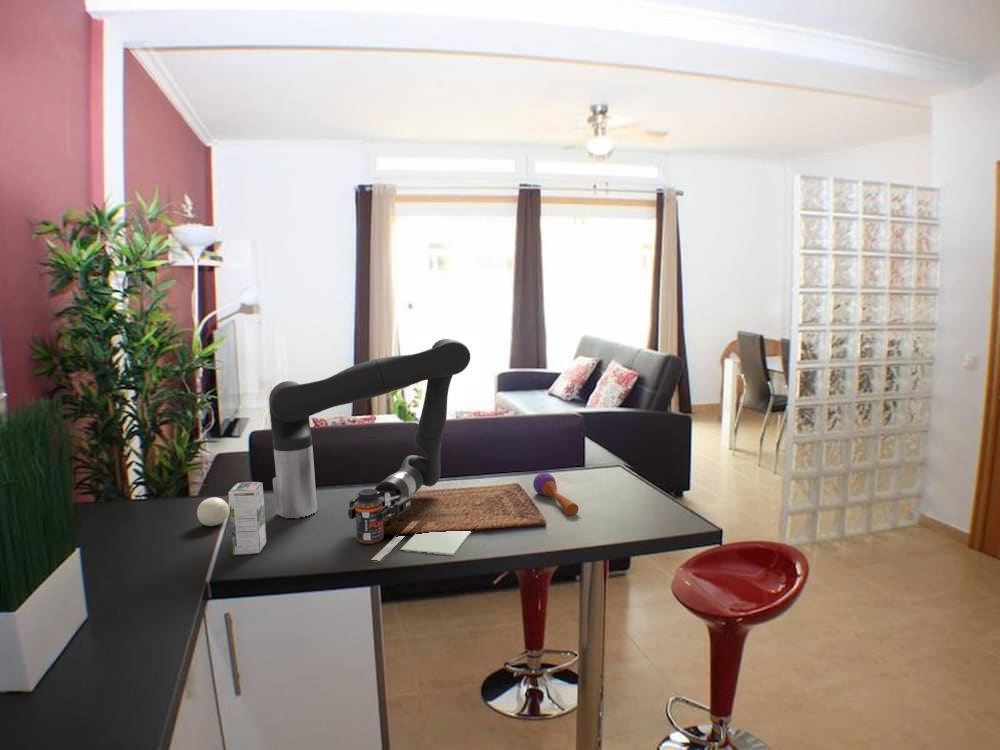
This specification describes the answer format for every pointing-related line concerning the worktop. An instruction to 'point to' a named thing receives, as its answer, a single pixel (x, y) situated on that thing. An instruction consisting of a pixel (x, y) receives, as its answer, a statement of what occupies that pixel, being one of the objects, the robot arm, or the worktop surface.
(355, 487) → the worktop surface
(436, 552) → the mat
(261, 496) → the syrup box
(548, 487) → the purple and orange maraca
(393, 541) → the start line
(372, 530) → the supplement bottle
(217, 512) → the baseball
